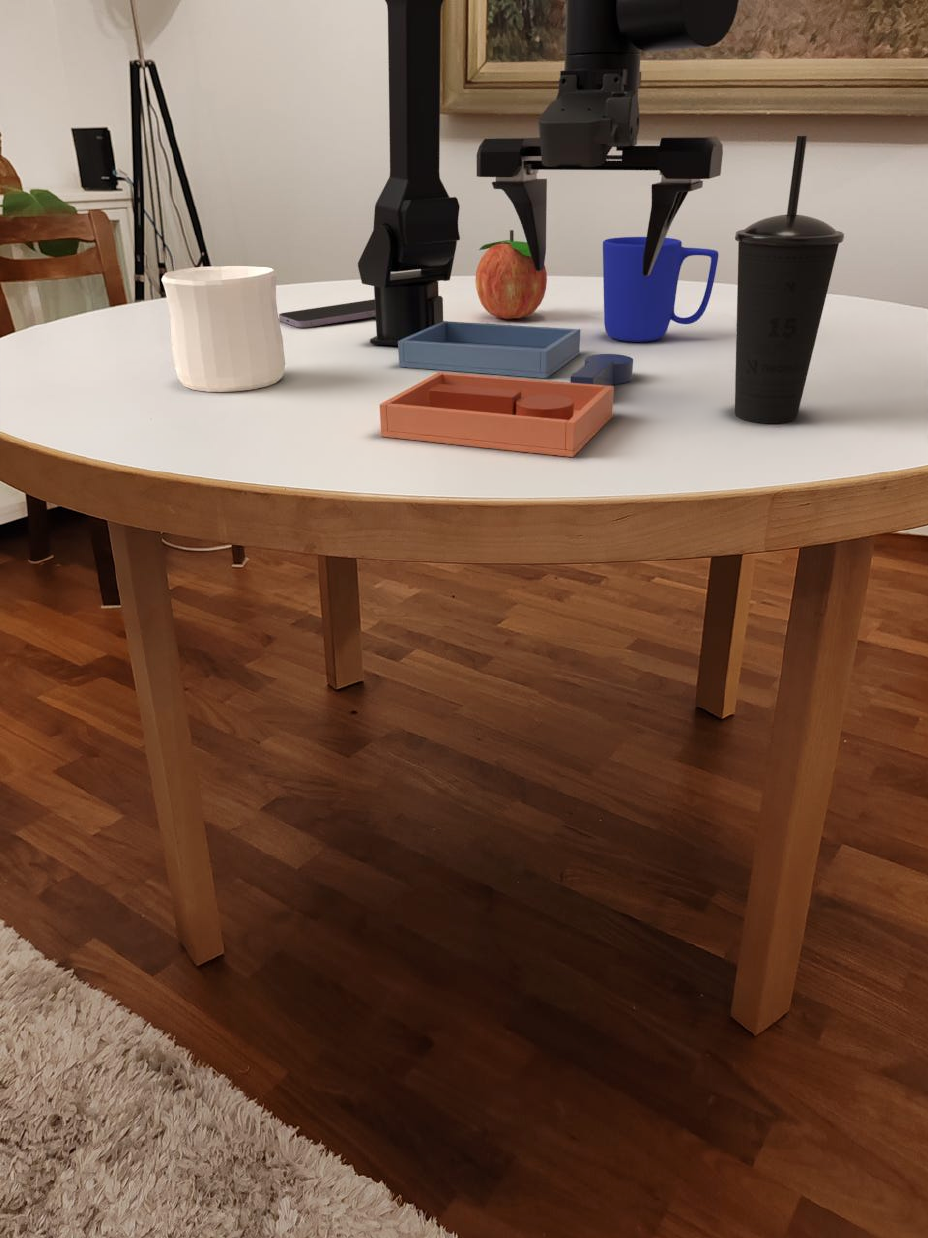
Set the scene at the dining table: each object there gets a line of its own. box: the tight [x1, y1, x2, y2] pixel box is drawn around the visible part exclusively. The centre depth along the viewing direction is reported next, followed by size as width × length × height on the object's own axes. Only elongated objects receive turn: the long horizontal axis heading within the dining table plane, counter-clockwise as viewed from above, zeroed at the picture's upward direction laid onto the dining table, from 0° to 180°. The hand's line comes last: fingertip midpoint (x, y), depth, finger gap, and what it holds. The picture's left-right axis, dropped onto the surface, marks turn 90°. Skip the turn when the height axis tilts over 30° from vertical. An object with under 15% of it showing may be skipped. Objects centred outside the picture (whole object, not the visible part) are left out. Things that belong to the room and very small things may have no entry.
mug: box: [602, 236, 719, 343], centre depth 102 cm, size 8×12×10 cm
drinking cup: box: [734, 135, 845, 424], centre depth 72 cm, size 8×8×20 cm
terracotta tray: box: [379, 371, 615, 458], centre depth 74 cm, size 15×11×2 cm
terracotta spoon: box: [429, 384, 574, 421], centre depth 74 cm, size 11×4×2 cm, turn 68°
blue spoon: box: [569, 353, 634, 386], centre depth 85 cm, size 11×4×2 cm, turn 158°
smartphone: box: [278, 298, 376, 328], centre depth 118 cm, size 7×1×15 cm
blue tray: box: [397, 320, 581, 379], centre depth 95 cm, size 15×11×2 cm
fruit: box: [475, 229, 548, 320], centre depth 114 cm, size 9×10×10 cm
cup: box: [160, 265, 286, 393], centre depth 87 cm, size 10×10×10 cm
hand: (591, 272), depth 79 cm, fingers open, 9 cm apart
